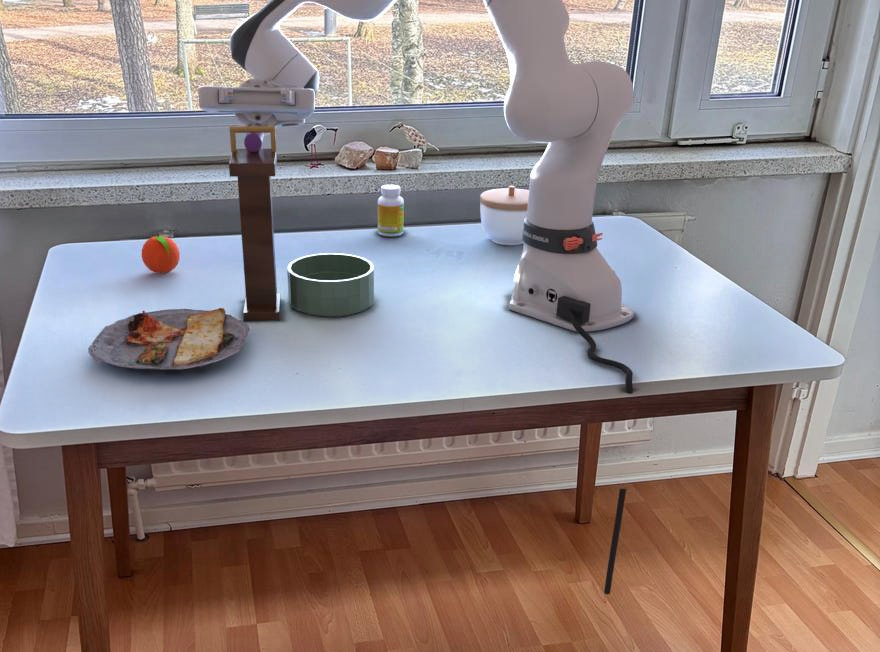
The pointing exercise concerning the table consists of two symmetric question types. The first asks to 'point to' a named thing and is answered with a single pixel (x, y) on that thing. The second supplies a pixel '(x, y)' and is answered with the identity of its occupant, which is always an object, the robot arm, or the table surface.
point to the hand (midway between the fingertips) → (256, 93)
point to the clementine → (160, 254)
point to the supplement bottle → (390, 211)
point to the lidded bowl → (504, 214)
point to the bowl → (331, 284)
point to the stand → (257, 224)
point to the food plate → (170, 339)
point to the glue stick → (254, 140)
